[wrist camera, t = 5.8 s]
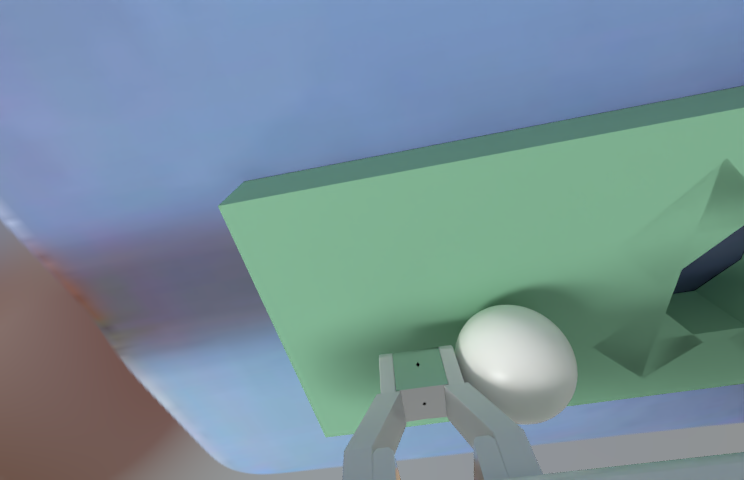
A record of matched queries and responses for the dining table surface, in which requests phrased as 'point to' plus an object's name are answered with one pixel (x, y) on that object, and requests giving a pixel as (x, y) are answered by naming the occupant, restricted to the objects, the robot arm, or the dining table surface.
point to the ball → (518, 362)
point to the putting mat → (510, 251)
